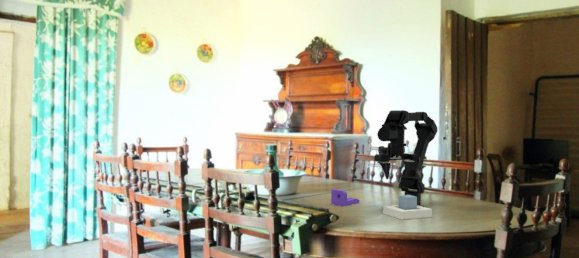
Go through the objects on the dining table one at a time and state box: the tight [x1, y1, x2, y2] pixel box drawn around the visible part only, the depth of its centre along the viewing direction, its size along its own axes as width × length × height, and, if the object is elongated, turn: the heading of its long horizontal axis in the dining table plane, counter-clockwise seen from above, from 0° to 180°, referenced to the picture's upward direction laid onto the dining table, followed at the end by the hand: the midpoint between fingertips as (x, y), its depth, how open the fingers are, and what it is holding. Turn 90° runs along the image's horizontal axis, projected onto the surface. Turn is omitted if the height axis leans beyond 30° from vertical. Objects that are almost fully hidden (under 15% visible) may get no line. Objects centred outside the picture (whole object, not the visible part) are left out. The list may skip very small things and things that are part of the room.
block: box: [397, 194, 417, 210], centre depth 181 cm, size 5×5×7 cm
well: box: [382, 204, 433, 221], centre depth 181 cm, size 14×12×3 cm
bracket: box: [330, 188, 360, 207], centre depth 205 cm, size 12×7×7 cm, turn 139°
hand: (396, 178), depth 190 cm, fingers open, 9 cm apart
